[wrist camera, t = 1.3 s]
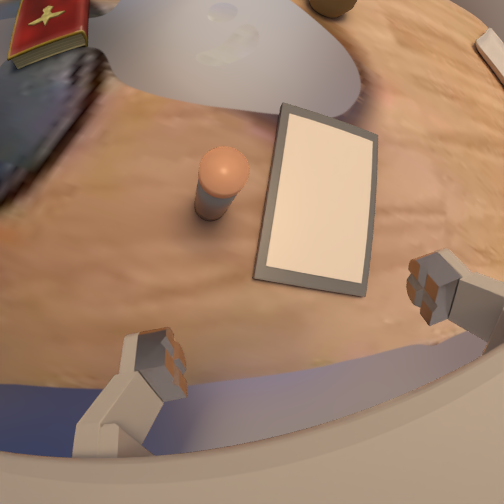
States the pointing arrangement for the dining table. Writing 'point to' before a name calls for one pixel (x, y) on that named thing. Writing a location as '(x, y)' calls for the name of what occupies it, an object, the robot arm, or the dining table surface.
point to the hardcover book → (48, 29)
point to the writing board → (319, 204)
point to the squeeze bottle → (332, 7)
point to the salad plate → (492, 52)
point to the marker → (219, 181)
